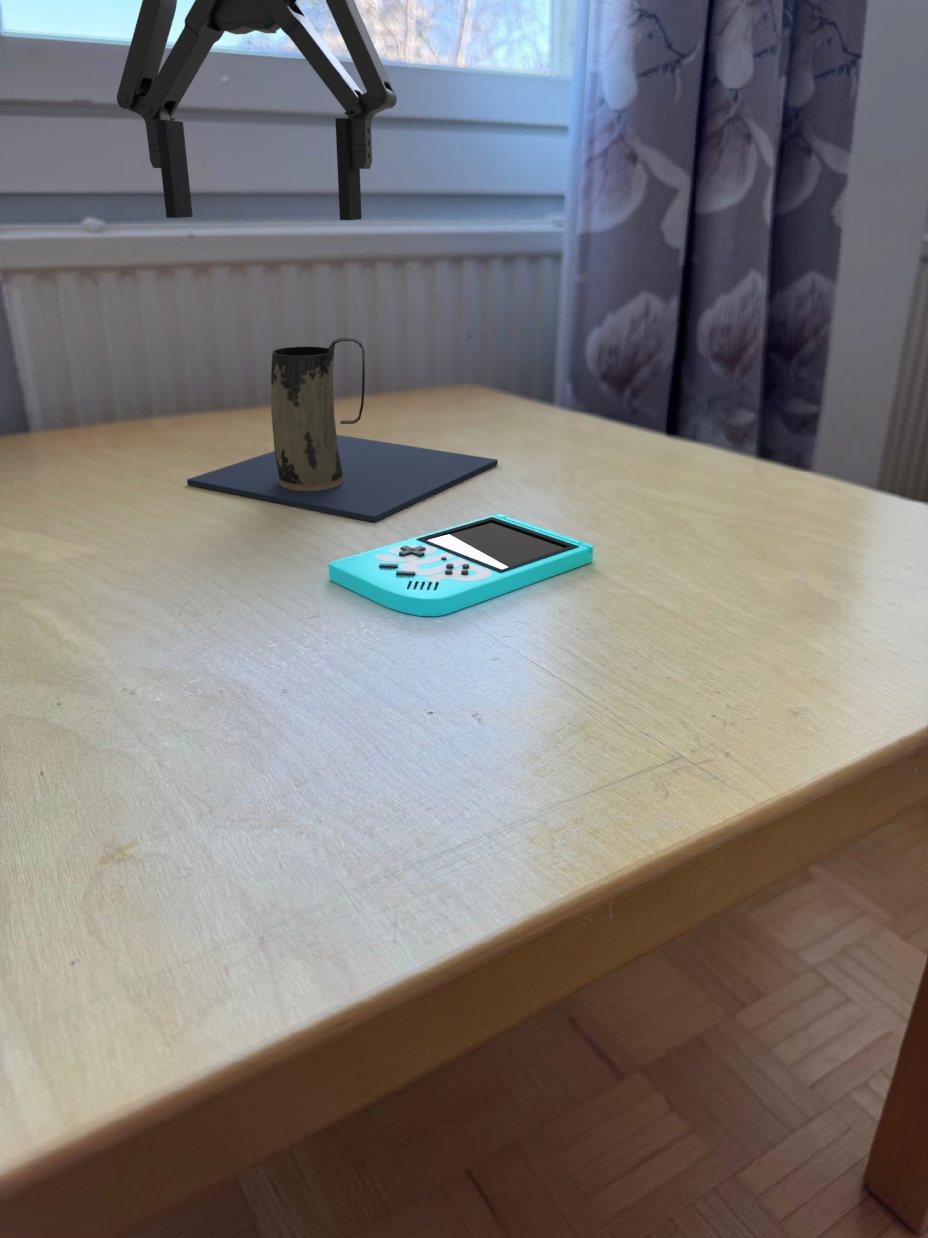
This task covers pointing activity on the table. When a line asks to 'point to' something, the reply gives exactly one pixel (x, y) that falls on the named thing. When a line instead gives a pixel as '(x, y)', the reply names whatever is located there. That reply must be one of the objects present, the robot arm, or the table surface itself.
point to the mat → (355, 478)
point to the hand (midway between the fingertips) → (263, 219)
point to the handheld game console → (459, 565)
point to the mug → (307, 417)
